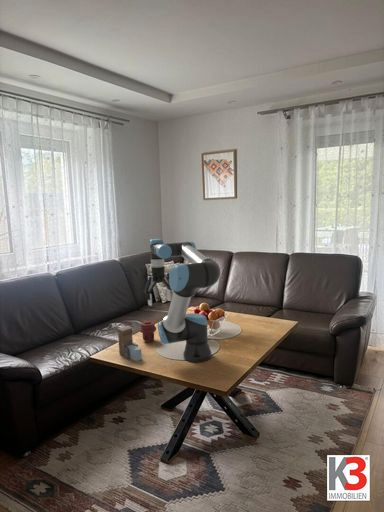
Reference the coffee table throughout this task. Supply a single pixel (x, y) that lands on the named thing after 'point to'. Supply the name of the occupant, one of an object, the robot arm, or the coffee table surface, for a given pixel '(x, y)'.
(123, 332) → the post
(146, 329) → the mechanical component
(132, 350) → the light blue block
